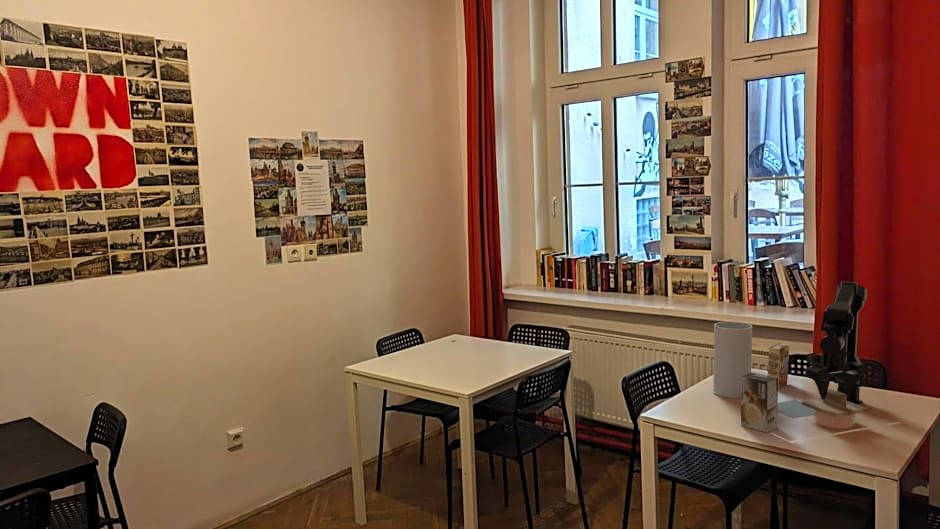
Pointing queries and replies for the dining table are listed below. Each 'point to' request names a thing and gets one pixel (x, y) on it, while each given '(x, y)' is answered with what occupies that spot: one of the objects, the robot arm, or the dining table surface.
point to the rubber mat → (794, 409)
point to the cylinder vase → (731, 357)
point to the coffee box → (759, 401)
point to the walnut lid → (835, 404)
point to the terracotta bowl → (834, 420)
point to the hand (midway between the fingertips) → (834, 397)
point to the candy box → (779, 363)
